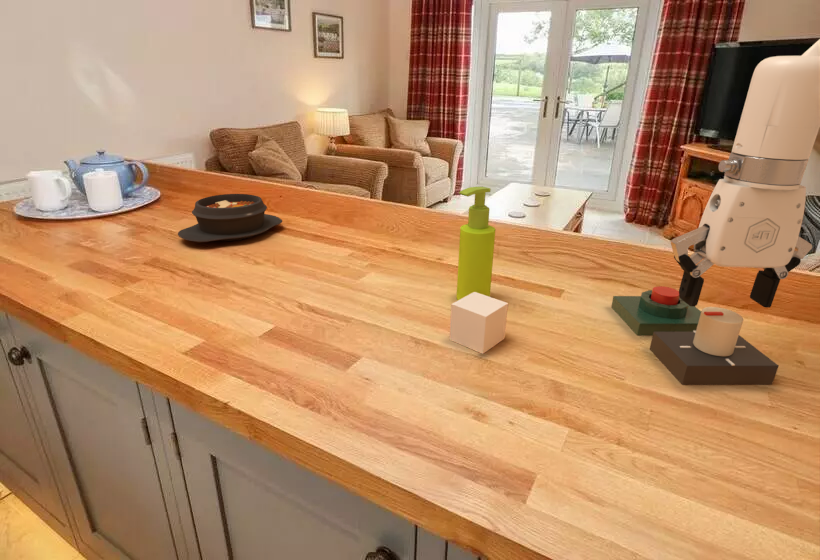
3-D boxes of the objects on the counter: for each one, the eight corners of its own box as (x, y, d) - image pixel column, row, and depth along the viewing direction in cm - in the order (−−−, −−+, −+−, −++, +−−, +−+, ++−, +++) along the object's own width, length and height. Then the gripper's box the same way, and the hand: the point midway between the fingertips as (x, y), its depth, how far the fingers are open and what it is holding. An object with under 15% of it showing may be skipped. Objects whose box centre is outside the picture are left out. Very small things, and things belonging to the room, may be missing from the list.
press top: (669, 295, 81) (672, 286, 80) (682, 306, 77) (685, 296, 77) (646, 295, 81) (648, 286, 80) (657, 306, 77) (660, 296, 77)
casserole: (204, 256, 105) (198, 218, 102) (164, 237, 116) (158, 203, 113) (298, 231, 123) (296, 197, 120) (256, 217, 134) (252, 186, 131)
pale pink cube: (449, 340, 74) (451, 303, 72) (471, 326, 78) (474, 291, 76) (482, 354, 70) (486, 316, 68) (504, 338, 74) (508, 302, 72)
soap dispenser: (445, 298, 87) (450, 187, 79) (473, 289, 91) (480, 182, 83) (468, 310, 83) (475, 193, 75) (496, 300, 87) (506, 188, 79)
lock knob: (719, 338, 69) (729, 304, 67) (741, 356, 65) (752, 321, 63) (685, 338, 69) (694, 304, 67) (705, 356, 65) (716, 320, 63)
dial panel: (729, 349, 72) (735, 330, 71) (772, 385, 64) (779, 364, 63) (649, 349, 72) (653, 330, 71) (681, 385, 64) (687, 364, 63)
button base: (679, 307, 85) (684, 286, 84) (713, 335, 76) (719, 312, 75) (611, 307, 85) (615, 286, 83) (636, 335, 76) (642, 312, 74)
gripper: (710, 175, 54) (673, 314, 61) (862, 179, 54) (809, 316, 61) (675, 164, 61) (645, 289, 67) (810, 167, 61) (767, 291, 68)
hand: (723, 302), depth 64 cm, fingers open, 9 cm apart
